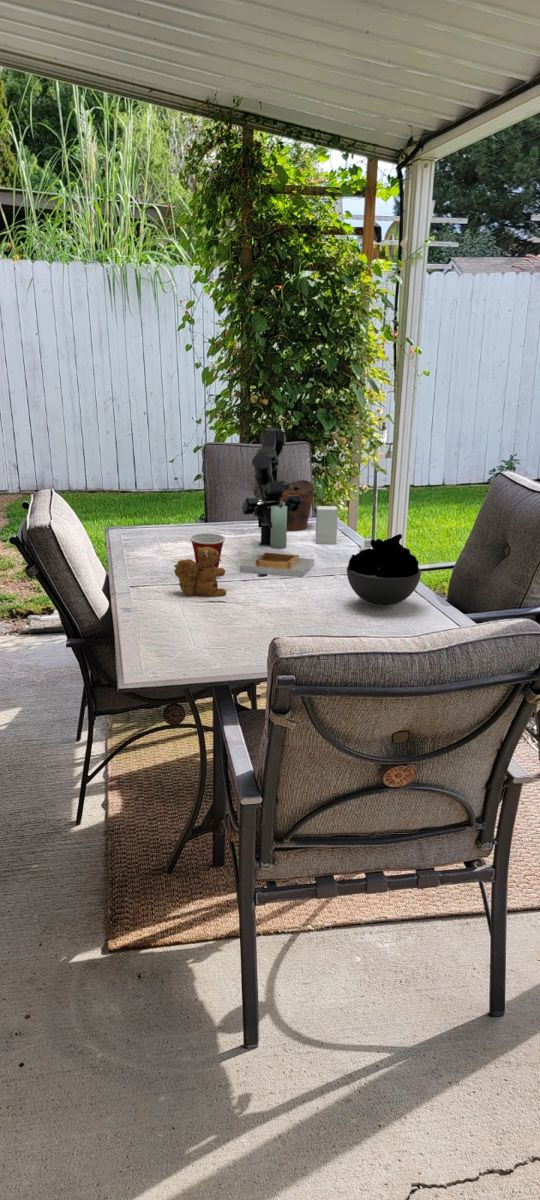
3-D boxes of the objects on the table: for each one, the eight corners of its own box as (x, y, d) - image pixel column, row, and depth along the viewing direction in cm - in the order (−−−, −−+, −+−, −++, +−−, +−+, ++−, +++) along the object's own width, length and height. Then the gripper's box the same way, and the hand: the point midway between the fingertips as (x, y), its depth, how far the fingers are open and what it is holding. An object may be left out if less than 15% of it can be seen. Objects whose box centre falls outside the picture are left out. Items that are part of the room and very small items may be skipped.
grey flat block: (239, 571, 270) (239, 560, 269) (254, 560, 285) (254, 550, 284) (301, 577, 265) (302, 565, 264) (313, 565, 280) (314, 554, 279)
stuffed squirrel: (229, 595, 244) (229, 550, 240) (180, 599, 240) (179, 553, 236) (219, 586, 253) (219, 542, 249) (172, 590, 249) (171, 545, 245)
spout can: (268, 546, 275) (268, 499, 270) (282, 545, 276) (283, 498, 272) (274, 549, 270) (274, 502, 266) (288, 548, 272) (289, 501, 268)
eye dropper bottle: (369, 570, 275) (370, 532, 272) (377, 574, 270) (379, 536, 267) (356, 571, 273) (358, 533, 270) (365, 575, 268) (366, 537, 265)
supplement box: (336, 544, 311) (338, 509, 307) (315, 544, 311) (317, 509, 307) (335, 540, 318) (336, 505, 314) (315, 539, 318) (316, 505, 314)
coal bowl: (368, 618, 225) (371, 547, 220) (332, 598, 242) (334, 532, 237) (433, 610, 233) (438, 542, 227) (394, 592, 250) (397, 527, 245)
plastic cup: (195, 580, 259) (194, 541, 256) (186, 572, 269) (185, 534, 266) (229, 577, 263) (230, 539, 260) (219, 569, 273) (219, 532, 269)
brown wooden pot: (262, 531, 331) (263, 484, 326) (270, 521, 350) (272, 477, 345) (308, 534, 328) (311, 487, 323) (314, 524, 347) (317, 479, 342)
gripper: (245, 472, 268) (258, 513, 261) (300, 469, 275) (314, 510, 268) (236, 493, 277) (248, 534, 270) (290, 490, 284) (303, 530, 277)
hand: (279, 526), depth 271 cm, fingers closed on spout can, 5 cm apart
